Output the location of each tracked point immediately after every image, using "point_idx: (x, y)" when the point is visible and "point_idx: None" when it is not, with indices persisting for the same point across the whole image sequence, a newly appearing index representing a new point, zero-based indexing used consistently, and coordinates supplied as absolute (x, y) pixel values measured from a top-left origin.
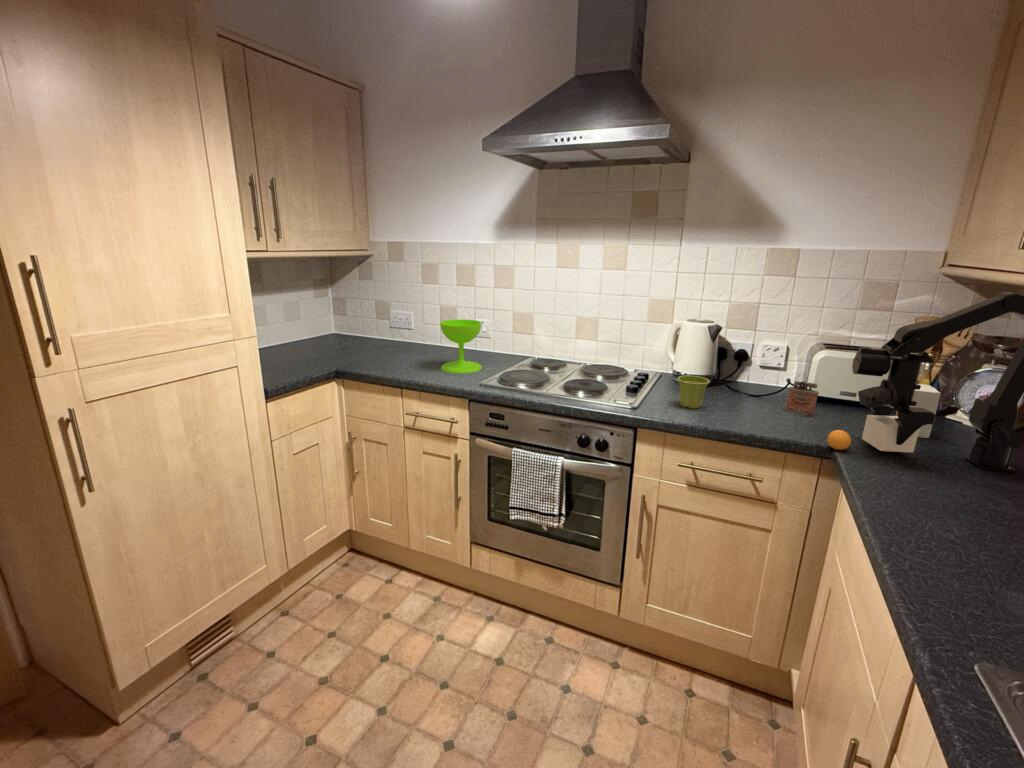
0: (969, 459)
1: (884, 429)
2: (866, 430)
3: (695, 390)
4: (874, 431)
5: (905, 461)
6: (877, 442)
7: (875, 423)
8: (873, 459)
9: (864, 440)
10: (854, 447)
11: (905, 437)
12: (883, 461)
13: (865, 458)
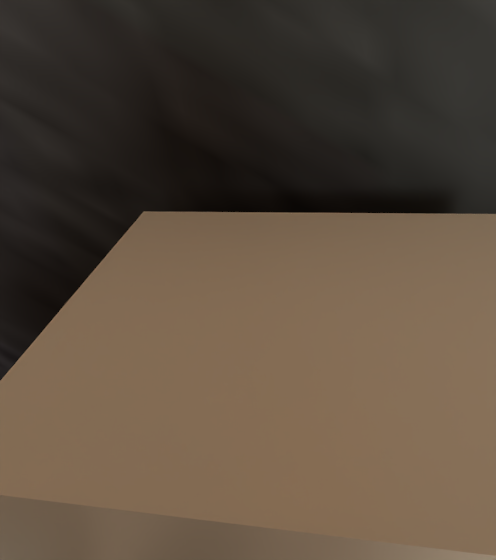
0: None
1: (26, 394)
2: (488, 287)
3: None
4: (295, 314)
5: None
6: (199, 243)
7: (323, 434)
8: (84, 96)
9: (435, 214)
10: (394, 66)
11: None
12: (69, 167)
13: (81, 15)
